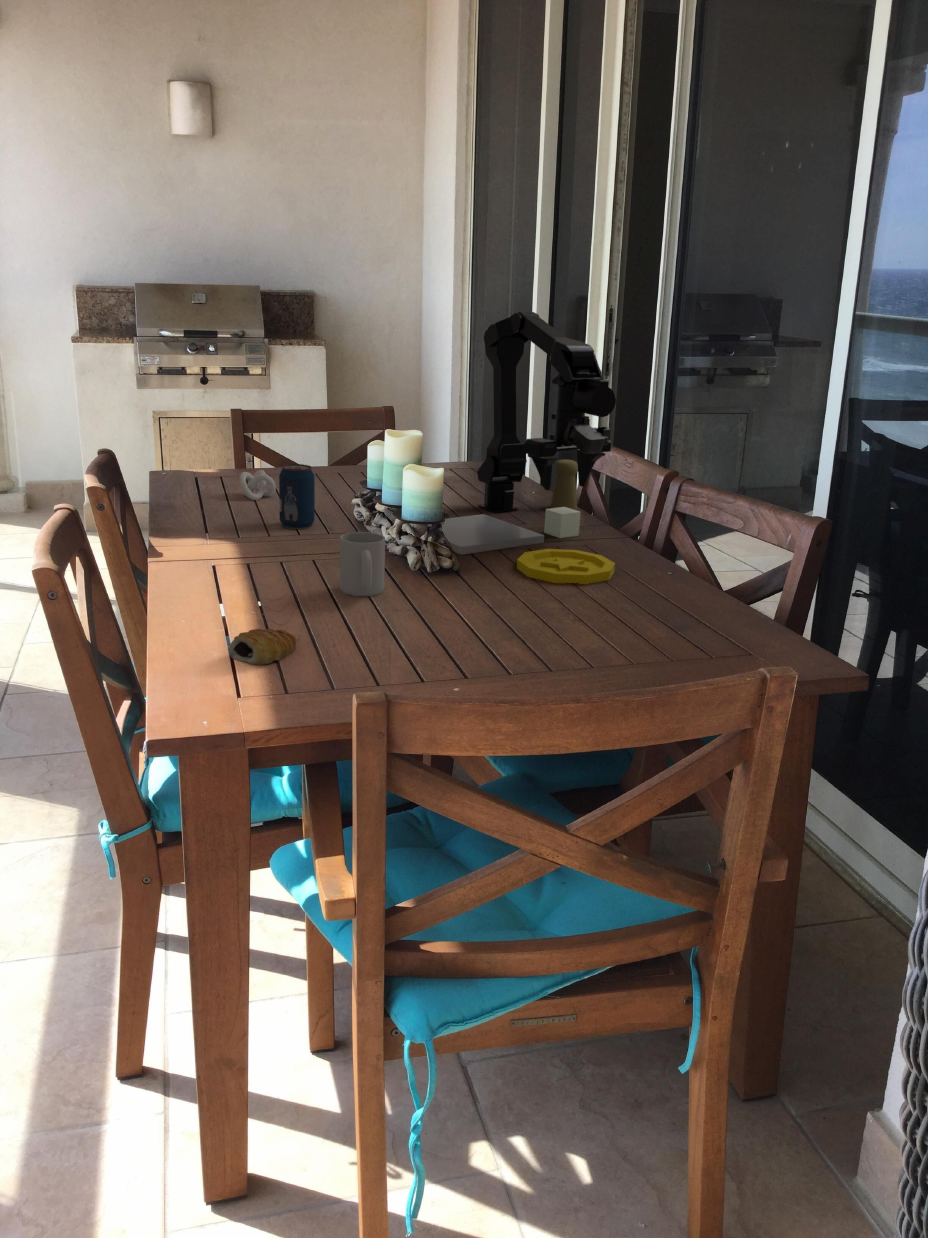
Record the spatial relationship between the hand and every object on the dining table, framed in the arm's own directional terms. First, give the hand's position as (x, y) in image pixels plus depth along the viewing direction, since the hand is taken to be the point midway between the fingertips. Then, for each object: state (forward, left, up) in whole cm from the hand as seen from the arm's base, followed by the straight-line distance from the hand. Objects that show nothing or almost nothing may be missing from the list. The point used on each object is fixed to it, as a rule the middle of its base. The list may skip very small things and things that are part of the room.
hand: (564, 488), depth 211 cm
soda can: (-29, -45, -10) cm, 54 cm away
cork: (-18, +16, -10) cm, 26 cm away
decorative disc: (+21, -17, -10) cm, 29 cm away
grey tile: (-6, -18, -9) cm, 21 cm away
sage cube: (0, 0, -10) cm, 10 cm away
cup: (+16, -56, -10) cm, 59 cm away
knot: (-57, -41, -10) cm, 71 cm away
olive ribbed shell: (+34, -82, -10) cm, 89 cm away
